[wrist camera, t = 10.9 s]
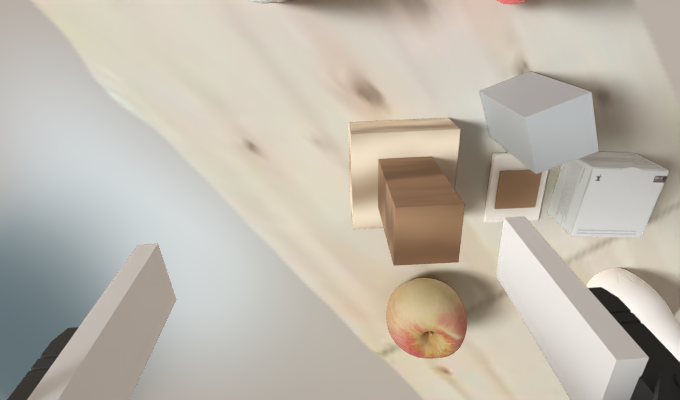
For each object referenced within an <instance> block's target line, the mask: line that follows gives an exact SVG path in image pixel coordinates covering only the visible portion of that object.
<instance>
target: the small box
mask: <svg viewBox="0 0 680 400" xmlns="http://www.w3.org/2000/svg"><path fill="white" fill-rule="evenodd" d="M668 174H669V170H668V169H666V168H664V167H662V166H660V165H658V164H656V163H654V162H652V161H650V160H648V159H646V158H644V157H642V156H640V155H638V154H635V153H624V152H595V153H593V154H590V155H587V156H584V157H582V158H579V159H576V160H573V161H571V162H568V163H565V164H562V167H561V170H560V173H559V176H558V179H557V183H556V186H555V189H554V192H553V195H552V199H551V202H550V205H549V209H548V212H547V214H548V215H549V216H550V217H551V218H552V219H553V220H554V221H556V222H557V223H558V224H559V225H560V226H561V227H562V228H563V229H564V230H565V231H566V232H567V233H568V234H569V235H570V236H572V237H637V238H640V237H641V236H642V234H643V232H644V230H645V228H646V225H647V223H648V220H649V218H650V216H651V213H652V211H653V209H654V206H655V204H656V201H657V199H658V197H659V195H660V192H661V190H662V188H663V186H664V183H665V181H666V179H667V176H668Z"/></svg>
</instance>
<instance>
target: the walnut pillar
mask: <svg viewBox="0 0 680 400" xmlns="http://www.w3.org/2000/svg"><path fill="white" fill-rule="evenodd" d="M464 207H465V204H464V202H463V201H462V199H461V198H460V197H459V195H458V194H457V192H456V191H455V189H454V188H453V187H452V185H451V184H450V182H449V181H448V179H447V178H446V177H445V175H444V174H443V172H442V171H441V169H440V168H439V167H438V165H437V164H436V162H435V161H434V159H433V158H432V156H428V157H407V158H386V159H378V209H379V212H380V216H381V220H382V224H383V227H384V231H385V235H386V238H387V242H388V246H389V250H390V253H391V257H392V261H393V265H413V264H432V263H451V262H458V261H459V252H460V243H461V234H462V225H463V216H464Z"/></svg>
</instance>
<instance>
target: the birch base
mask: <svg viewBox="0 0 680 400" xmlns="http://www.w3.org/2000/svg"><path fill="white" fill-rule="evenodd" d="M348 123H349V160H350V198H351V216H352V224H353V230H355V229H375V228H384V227H383V224H382V220H381V216H380V212H379V209H378V159H386V158H407V157H428V156H432V158H433V159H434V161H435V162H436V164H437V165H438V167H439V168H440V169H441V171H442V172H443V174H444V175H445V177H446V178H447V179H448V181H449V182H450V184H451V185H452V187H453V188H454V189H455V181H456V170H457V160H458V150H459V140H460V128H459V127H458V126H457V125H455V124H454V123H453V122H452V121H451V120H450V119H449V118H434V119H412V120H390V121H368V122H348Z"/></svg>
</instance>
